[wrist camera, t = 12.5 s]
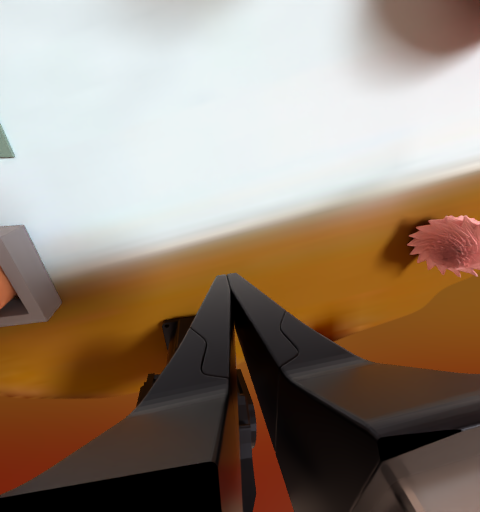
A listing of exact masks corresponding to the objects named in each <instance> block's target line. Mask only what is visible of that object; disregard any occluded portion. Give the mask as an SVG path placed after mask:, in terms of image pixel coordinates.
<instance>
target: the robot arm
mask: <svg viewBox="0 0 480 512" xmlns="http://www.w3.org/2000/svg"><path fill="white" fill-rule="evenodd" d="M166 324H168V325H166ZM234 325H235V329H236V332H237V336H238V339H239V342H240V345H241V348H242V351H243V354H244V357H245V360H246V363H247V366H248V369H249V373H250V376H251V379H252V382H253V385H254V388H255V391H256V394H257V398H258V401H259V403H260V407H261V410H262V413H263V416H264V419H265V422H266V425H267V429H268V431H269V434H270V438H271V441H272V444H273V447H274V450H275V452H276V457H277V460H278V463H279V466H280V469H281V472H282V475H283V478H284V481H285V484H286V488H287V491H288V494H289V497H290V500H291V503H292V506H293V509H294V512H480V374H465V373H454V372H445V371H438V370H429V369H420V368H413V367H405V366H397V365H387V364H380V363H375V362H371V361H368V360H365V359H362V358H360V357H358V356H356V355H354V354H353V353H351V352H349V351H347V350H346V349H344V348H342V347H341V346H339V345H337V344H336V343H334V342H333V341H331V340H329V339H328V338H326V337H324V336H323V335H321V334H319V333H318V332H316V331H315V330H313V329H311V328H310V327H308V326H307V325H305V324H304V323H302V322H301V321H300V320H298V319H297V318H295V317H294V316H293V315H291V314H290V313H289V312H286V310H285V309H283V308H282V307H281V306H279V305H278V304H277V303H275V302H274V301H273V300H271V299H270V298H269V297H267V296H266V295H265V294H264V293H262V292H261V291H260V290H258V289H257V288H256V287H254V286H253V285H252V284H250V283H249V282H248V281H246V280H245V279H244V278H242V277H241V276H240V275H239V274H237V273H232V274H227V275H218V276H216V278H215V280H214V282H213V284H212V286H211V288H210V290H209V291H208V293H207V295H206V297H205V299H204V301H203V303H202V305H201V307H200V309H199V311H198V312H197V314H196V316H194V317H187V318H179V319H171V320H165V321H163V324H162V328H163V332H164V337H165V341H166V345H167V349H168V356H167V364H166V367H165V369H164V370H163V371H162V373H161V374H156V375H155V374H148V378H147V382H144V386H142V387H141V388H140V393H139V397H138V402H137V406H136V409H134V410H133V411H132V413H131V414H129V415H128V416H127V417H126V418H125V419H123V420H122V421H120V422H119V423H117V424H116V425H114V426H113V427H111V428H110V429H108V430H107V431H105V432H104V433H102V434H101V435H99V436H98V437H96V438H95V439H93V440H92V441H90V442H89V443H87V444H86V445H84V446H83V447H81V448H80V449H78V450H77V451H75V452H74V453H72V454H71V455H69V456H68V457H66V458H65V459H63V460H62V461H60V462H59V463H57V464H56V465H54V466H53V467H51V468H50V469H48V470H46V471H45V472H43V473H42V474H40V475H38V476H37V477H35V478H33V479H32V480H30V481H28V482H26V483H24V484H22V485H20V486H19V487H17V488H15V489H13V490H10V491H8V492H6V493H3V494H1V495H0V512H253V507H254V502H255V497H256V487H255V479H254V471H253V462H252V448H254V446H255V442H256V418H255V410H254V406H253V402H252V399H251V396H250V394H249V391H248V388H247V385H246V383H245V380H244V377H243V375H242V372H241V370H240V369H236V352H235V331H234Z"/></svg>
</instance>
